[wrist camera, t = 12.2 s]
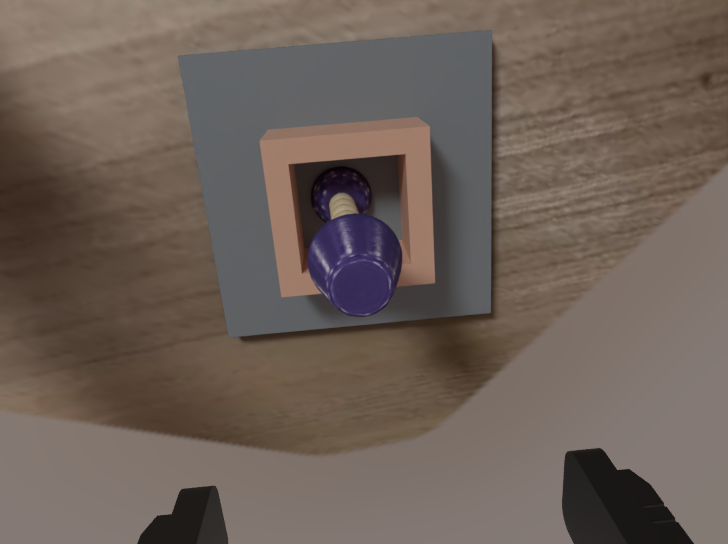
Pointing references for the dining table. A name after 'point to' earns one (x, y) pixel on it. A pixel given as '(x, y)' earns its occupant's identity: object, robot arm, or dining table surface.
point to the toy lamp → (352, 246)
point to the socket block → (350, 149)
